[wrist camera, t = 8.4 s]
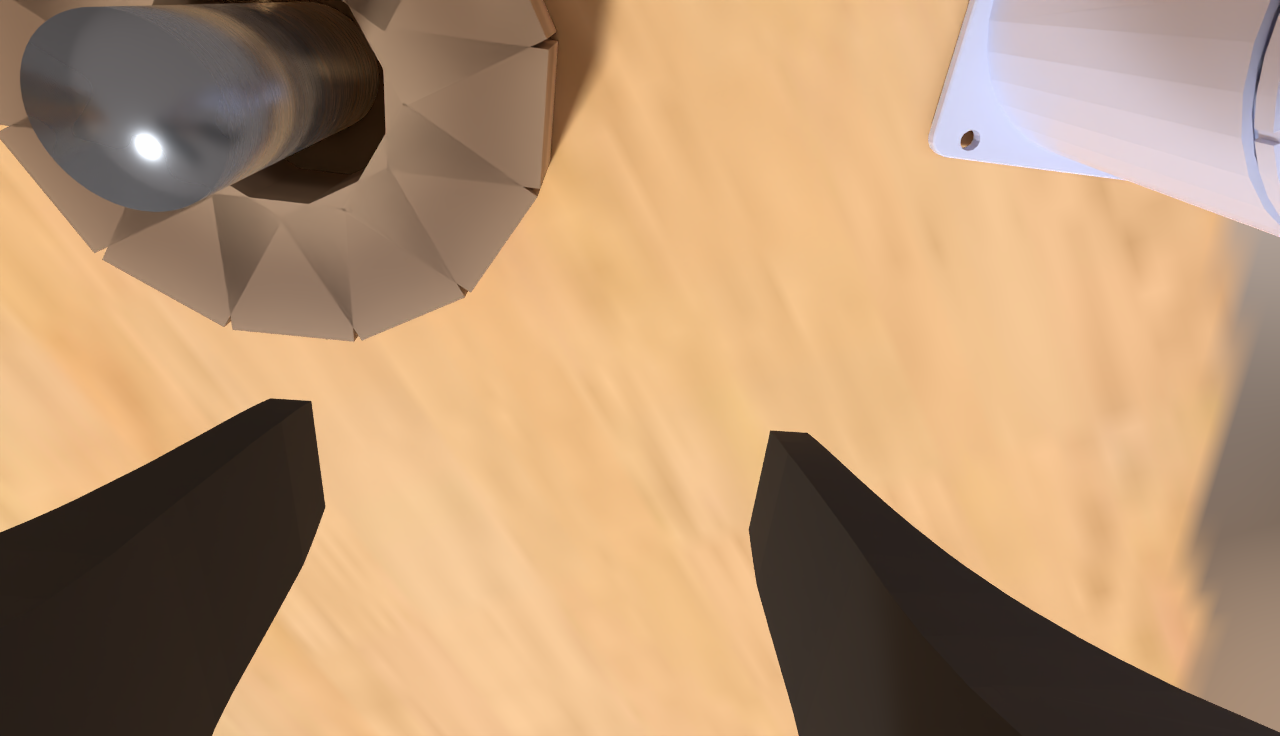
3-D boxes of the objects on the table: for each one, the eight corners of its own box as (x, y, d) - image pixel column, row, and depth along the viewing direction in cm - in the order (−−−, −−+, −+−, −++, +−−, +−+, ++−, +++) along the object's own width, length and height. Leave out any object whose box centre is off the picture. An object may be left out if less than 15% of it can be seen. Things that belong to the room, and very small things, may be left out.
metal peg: (379, 14, 18) (220, 28, 10) (378, 139, 19) (236, 226, 12) (252, -10, 17) (-2, -13, 10) (260, 118, 19) (42, 195, 11)
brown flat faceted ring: (573, -180, 16) (565, -214, 13) (539, 312, 21) (529, 358, 19) (-5, -276, 15) (-140, -333, 12) (117, 269, 20) (44, 311, 18)
